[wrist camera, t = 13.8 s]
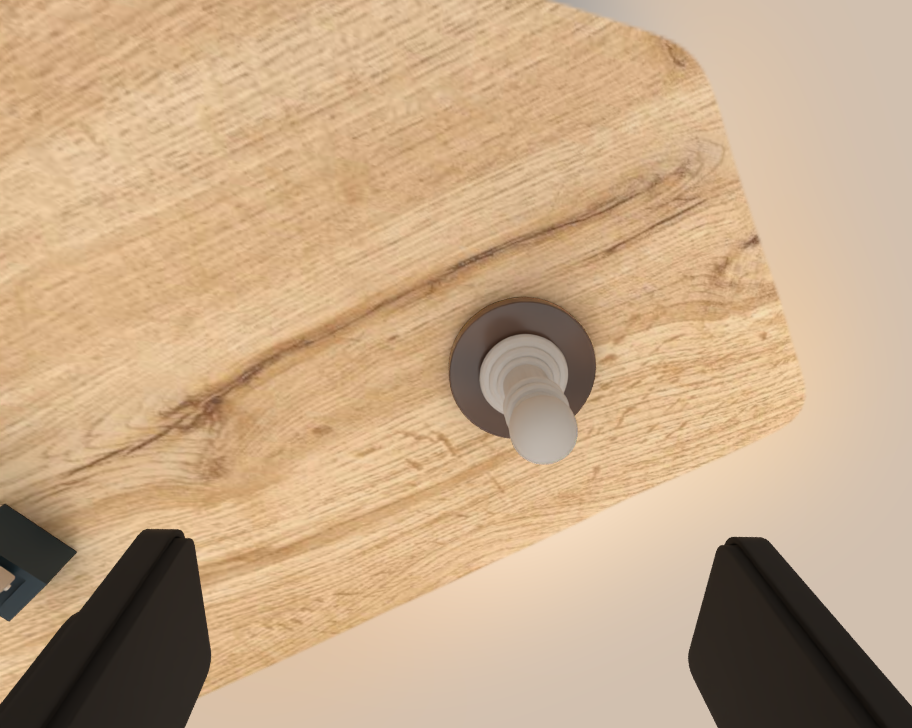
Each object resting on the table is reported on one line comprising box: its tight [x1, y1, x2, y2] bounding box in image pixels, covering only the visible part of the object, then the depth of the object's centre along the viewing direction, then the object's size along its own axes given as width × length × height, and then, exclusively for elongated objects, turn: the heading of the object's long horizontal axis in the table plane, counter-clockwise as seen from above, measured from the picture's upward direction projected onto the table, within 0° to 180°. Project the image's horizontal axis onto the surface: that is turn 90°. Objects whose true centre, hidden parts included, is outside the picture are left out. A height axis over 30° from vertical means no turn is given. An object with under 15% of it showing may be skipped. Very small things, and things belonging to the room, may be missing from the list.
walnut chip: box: [449, 297, 596, 438], centre depth 34 cm, size 9×9×1 cm
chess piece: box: [479, 334, 578, 464], centre depth 29 cm, size 5×5×9 cm
